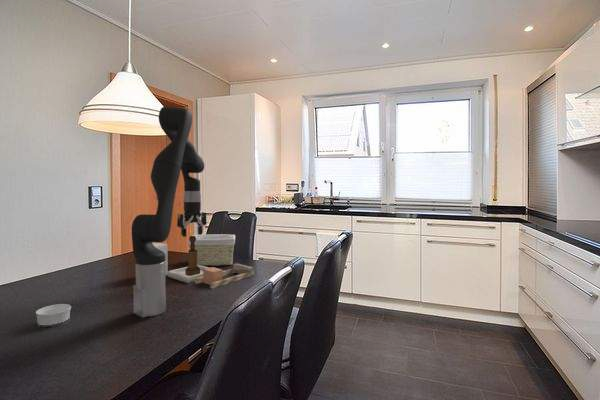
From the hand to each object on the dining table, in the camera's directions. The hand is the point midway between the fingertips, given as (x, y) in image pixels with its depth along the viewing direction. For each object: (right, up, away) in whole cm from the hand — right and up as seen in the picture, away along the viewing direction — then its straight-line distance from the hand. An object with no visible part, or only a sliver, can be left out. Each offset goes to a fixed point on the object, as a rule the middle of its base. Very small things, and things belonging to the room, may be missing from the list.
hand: (192, 235), depth 153 cm
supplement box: (-18, -19, -1) cm, 26 cm away
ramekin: (-27, -22, -50) cm, 61 cm away
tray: (0, -19, +1) cm, 19 cm away
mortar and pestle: (0, -18, +1) cm, 18 cm away
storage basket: (+3, -18, +26) cm, 32 cm away
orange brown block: (+12, -20, -9) cm, 25 cm away
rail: (+16, -20, -4) cm, 26 cm away
